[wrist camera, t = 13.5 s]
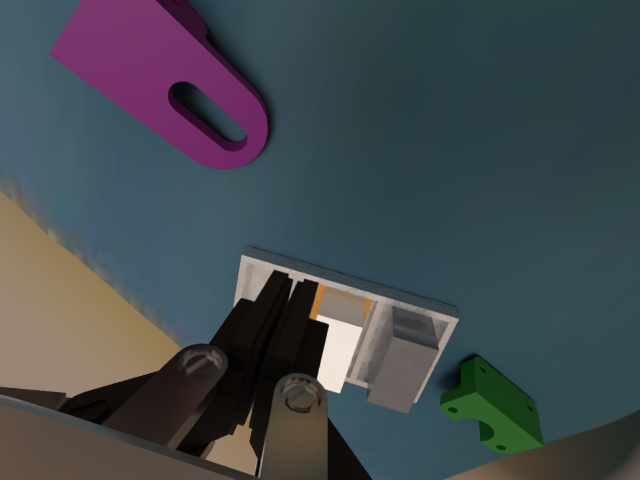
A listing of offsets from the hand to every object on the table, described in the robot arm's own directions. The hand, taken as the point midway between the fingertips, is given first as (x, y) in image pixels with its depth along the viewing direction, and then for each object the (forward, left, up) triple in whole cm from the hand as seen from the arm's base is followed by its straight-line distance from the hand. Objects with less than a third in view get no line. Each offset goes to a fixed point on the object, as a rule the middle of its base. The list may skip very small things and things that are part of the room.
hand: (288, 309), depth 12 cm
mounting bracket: (+18, -4, -28) cm, 33 cm away
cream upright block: (-4, +20, -26) cm, 33 cm away
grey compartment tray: (-4, +20, -27) cm, 34 cm away
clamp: (-24, +24, -28) cm, 44 cm away
